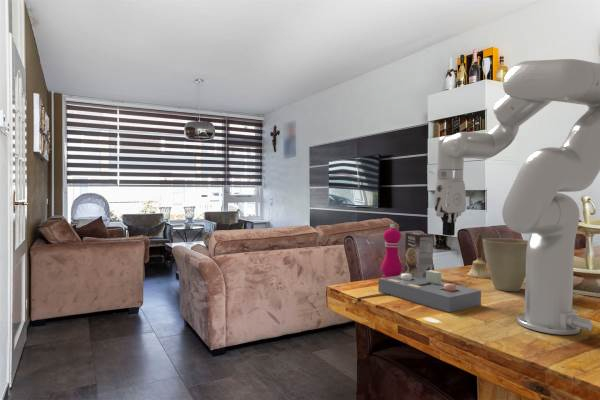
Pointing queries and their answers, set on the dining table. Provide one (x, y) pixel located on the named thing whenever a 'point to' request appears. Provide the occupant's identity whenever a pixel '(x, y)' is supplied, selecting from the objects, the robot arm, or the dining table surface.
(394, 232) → the pepper mill
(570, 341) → the dining table surface
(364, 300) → the dining table surface
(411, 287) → the switch panel
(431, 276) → the pale green block
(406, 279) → the off white button
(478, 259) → the hand bell
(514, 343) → the dining table surface
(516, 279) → the plant pot
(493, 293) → the dining table surface
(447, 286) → the terracotta button
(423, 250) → the coffee box
